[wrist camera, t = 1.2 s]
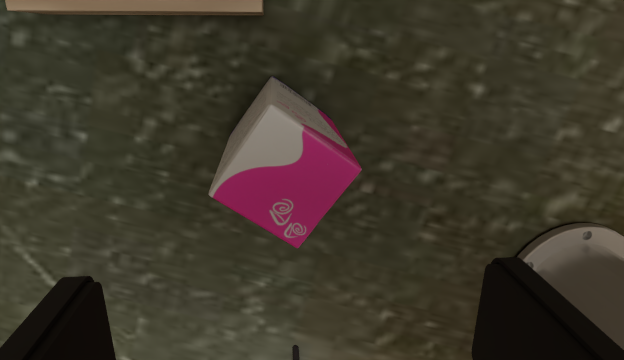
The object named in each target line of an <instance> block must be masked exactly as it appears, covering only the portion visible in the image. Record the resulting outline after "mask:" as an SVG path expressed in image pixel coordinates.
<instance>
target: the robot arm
mask: <svg viewBox="0 0 624 360" xmlns="http://www.w3.org/2000/svg"><path fill="white" fill-rule="evenodd" d="M472 358H473V360H624V237H623V236H622V235H620V234H619V233H617V232H615V231H614V230H612V229H610V228H607V227H605V226H603V225H598V224H593V223H576V224H570V225H565V226H562V227H559V228H556V229H553V230H551V231H549V232H547V233H545V234H544V235H542V236H540V237H538V238H537V239H536V240H534V241H533V242H532V243H530V244H529V245H528V246H527V247H526V248H525V249H524V250H523V251H522V252H521V253H520V254H519V255H518V256H517V257H510V258H495V259H493V261H492V262H491V264H488V265H487V266H486V268H485V273H484V279H483V285H482V291H481V297H480V303H479V309H478V315H477V321H476V327H475V333H474V339H473V345H472ZM0 360H116V358H115V352H114V347H113V342H112V337H111V331H110V326H109V321H108V316H107V310H106V305H105V300H104V295H103V289H102V286H101V284H100V283H99V282H94V280H93V278H92V277H90V276H81V277H64V278H62V279H60V280H59V281H58V282H57V284H56V285H55V286H54V287H53V288H52V289H51V290H50V292H49V293H48V294H47V295H46V296H45V297H44V298H43V300H42V301H41V302H40V303H39V304H38V305H37V306H36V308H35V309H34V310H33V311H32V312H31V313H30V314H29V316H28V317H27V318H26V319H25V320H24V321H23V322H22V324H21V325H20V326H19V327H18V328H17V329H16V330H15V332H14V333H13V334H12V335H11V336H10V337H9V339H8V340H7V341H6V342H5V343H4V344H3V345H2V347H1V348H0Z"/></svg>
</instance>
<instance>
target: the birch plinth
mask: <svg viewBox="0 0 624 360" xmlns="http://www.w3.org/2000/svg"><path fill="white" fill-rule="evenodd" d="M5 1H6V6H7V10H10V11H20V12H30V13H40V14H77V15H262V16H264V13H263V0H5Z"/></svg>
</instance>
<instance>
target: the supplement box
mask: <svg viewBox="0 0 624 360" xmlns="http://www.w3.org/2000/svg"><path fill="white" fill-rule="evenodd" d="M361 170H362V169H361V167H360V165H359V163H358V162H357V160H356V158H355V157H354V155H353V154H352V152H351V150H350V149H349V147H348V146H347V144H346V143H345V141H344V139H343V138H342V136H341V135H340V133H339V131H338V130H337V128H336V126H335V125H334V123H333V122H332V119H331V118H330V117H328V116H327V115H326V114H325V113H323V112H322V111H321V110H319V109H318V108H317V107H315V106H314V105H313V104H311V103H310V102H309V101H307V100H306V99H305V98H303V97H302V96H301V95H299V94H298V93H296V92H295V91H294V90H292V89H291V88H289V87H288V86H287V85H285V84H284V83H282V82H281V81H279V80H278V79H277V78H275V77H274V76H271V77H270V78H269V80H268V81H267V83H266V84H265V86H264V87H263V88H262V90H261V91H260V93H259V94H258V95H257V97H256V98H255V100H254V101H253V103H252V104H251V105H250V107H249V108H248V110H247V111H246V113H245V114H244V116H243V117H242V118H241V120H240V121H239V123H238V124H237V126H236V127H235V128H234V130H233V131H232V133H231V135H230V136H229V140H228V142H227V145H226V148H225V151H224V153H223V156H222V159H221V161H220V164H219V167H218V169H217V172H216V175H215V177H214V180H213V182H212V185H211V188H210V191H209V196H210V197H212V198H214V199H216V200H217V201H219V202H220V203H222V204H224V205H225V206H227V207H229V208H231V209H232V210H234V211H236V212H237V213H239V214H241V215H242V216H244V217H246V218H247V219H249V220H251V221H252V222H254V223H256V224H257V225H259V226H261V227H262V228H264V229H265V230H267V231H269V232H271V233H272V234H274V235H276V236H277V237H279V238H281V239H282V240H284V241H286V242H287V243H289V244H291V245H292V246H294V247H296V248H299V246H300V245H301V244H302V243H303V242H304V240H305V239H306V238H307V237H308V235H309V234H310V233H311V232H312V230H313V229H314V228H315V226H316V225H317V224H318V222H319V221H320V220H321V219H322V217H323V216H324V215H325V214H326V213H327V211H328V210H329V209H330V208H331V207H332V205H333V204H334V203H335V202H336V201H337V199H338V198H339V197H340V196H341V195H342V193H343V192H344V191H345V190H346V188H347V187H348V186H349V185H350V184H351V182H352V181H353V180H354V179H355V178H356V176H357V175H358V174H359V173H360V172H361Z"/></svg>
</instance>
